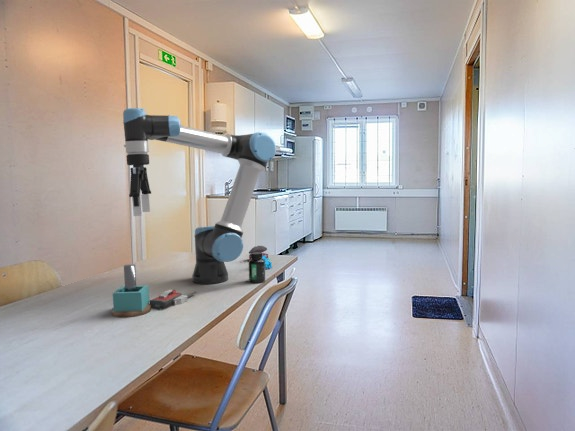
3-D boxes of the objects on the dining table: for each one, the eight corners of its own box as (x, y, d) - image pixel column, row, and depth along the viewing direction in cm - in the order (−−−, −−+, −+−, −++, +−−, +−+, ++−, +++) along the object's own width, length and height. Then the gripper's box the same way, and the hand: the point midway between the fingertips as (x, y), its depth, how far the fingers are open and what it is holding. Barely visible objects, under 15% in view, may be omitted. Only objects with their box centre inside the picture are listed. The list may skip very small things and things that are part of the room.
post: (138, 305, 149) (136, 264, 148) (135, 308, 145) (133, 266, 144) (127, 305, 149) (125, 264, 147) (124, 308, 145) (122, 266, 144)
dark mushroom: (250, 270, 227) (241, 253, 226) (257, 264, 236) (248, 248, 236) (268, 261, 223) (259, 244, 222) (275, 255, 232) (265, 239, 232)
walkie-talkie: (168, 312, 147) (198, 295, 166) (167, 299, 147) (198, 284, 166) (146, 309, 150) (178, 294, 169) (145, 297, 150) (178, 282, 168)
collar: (149, 302, 152) (148, 285, 151) (142, 310, 143) (141, 292, 142) (122, 303, 151) (121, 286, 151) (113, 311, 142) (112, 293, 142)
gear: (265, 267, 203) (253, 251, 207) (257, 276, 205) (245, 259, 209) (277, 266, 213) (265, 250, 217) (269, 274, 215) (257, 258, 218)
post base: (154, 305, 154) (154, 301, 153) (145, 316, 142) (145, 312, 141) (119, 306, 153) (119, 302, 153) (107, 317, 141) (106, 313, 141)
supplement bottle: (255, 284, 180) (254, 255, 179) (245, 281, 185) (245, 253, 184) (268, 281, 185) (268, 253, 184) (258, 278, 190) (258, 251, 189)
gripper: (135, 155, 167) (139, 210, 170) (116, 153, 143) (122, 218, 145) (155, 154, 168) (159, 209, 171) (140, 152, 143) (145, 217, 146)
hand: (142, 213), depth 158 cm, fingers open, 13 cm apart
